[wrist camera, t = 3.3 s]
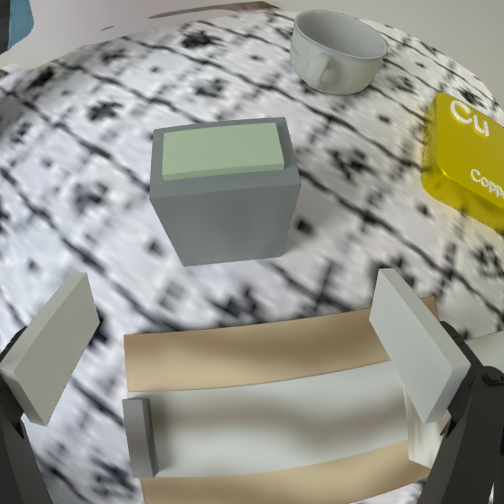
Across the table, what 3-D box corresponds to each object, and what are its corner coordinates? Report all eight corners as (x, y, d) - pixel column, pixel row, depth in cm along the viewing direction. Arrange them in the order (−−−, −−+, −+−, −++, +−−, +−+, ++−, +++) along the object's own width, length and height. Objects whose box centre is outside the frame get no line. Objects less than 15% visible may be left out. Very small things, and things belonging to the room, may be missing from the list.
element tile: (417, 193, 31) (438, 167, 26) (423, 108, 36) (437, 83, 31) (515, 244, 29) (540, 228, 24) (507, 156, 34) (524, 137, 30)
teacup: (314, 48, 39) (323, 2, 31) (382, 83, 36) (401, 37, 29) (253, 91, 34) (255, 35, 27) (334, 136, 32) (353, 80, 25)
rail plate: (127, 336, 24) (56, 307, 14) (428, 298, 26) (509, 254, 16) (152, 517, 19) (104, 583, 8) (448, 463, 20) (531, 484, 10)
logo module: (181, 213, 28) (151, 122, 18) (271, 204, 29) (286, 110, 18) (183, 266, 27) (146, 193, 16) (279, 256, 27) (302, 178, 16)
